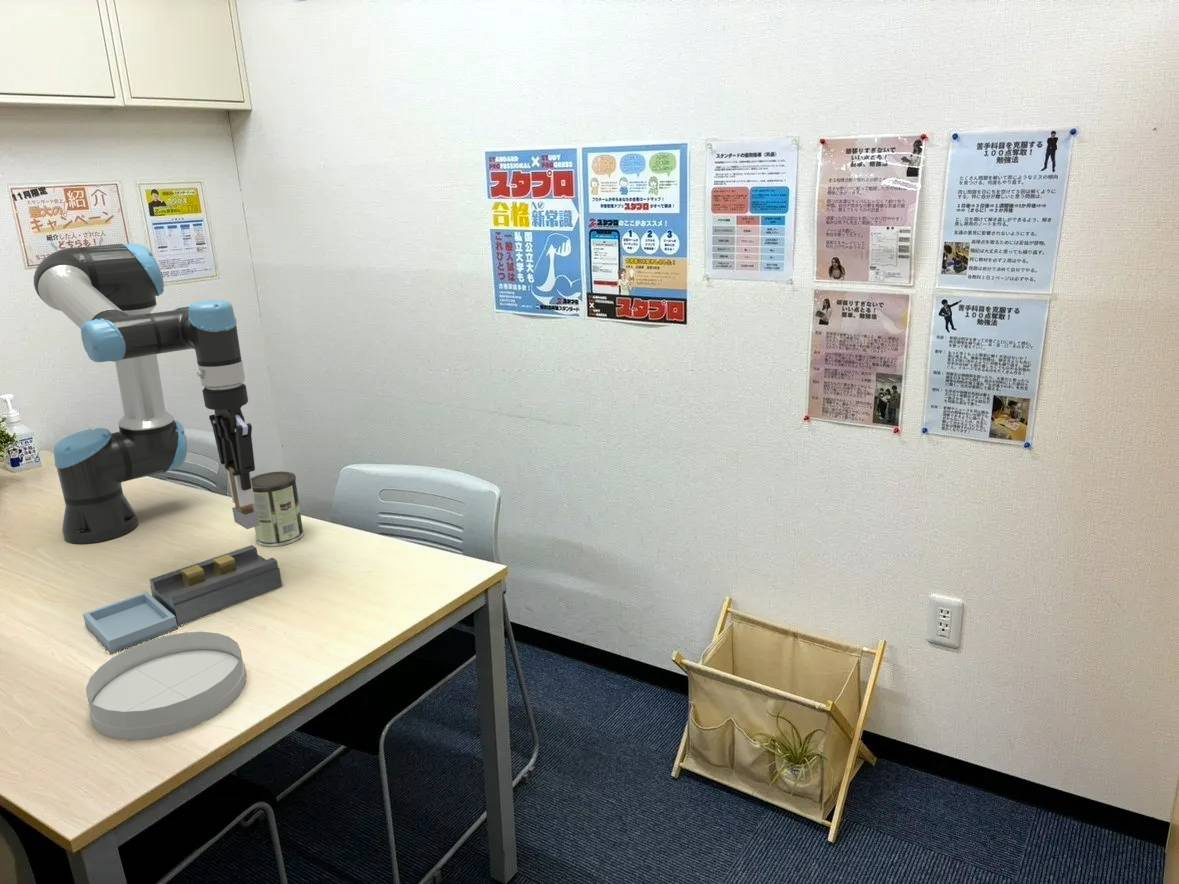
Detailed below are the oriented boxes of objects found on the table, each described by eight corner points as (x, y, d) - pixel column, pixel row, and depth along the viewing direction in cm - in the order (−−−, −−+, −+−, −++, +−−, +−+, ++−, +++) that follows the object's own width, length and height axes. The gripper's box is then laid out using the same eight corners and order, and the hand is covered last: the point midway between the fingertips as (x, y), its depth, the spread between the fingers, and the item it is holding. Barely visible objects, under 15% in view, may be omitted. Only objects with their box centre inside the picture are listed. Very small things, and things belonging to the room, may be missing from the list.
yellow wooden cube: (183, 584, 156) (180, 570, 155) (199, 578, 158) (197, 564, 157) (189, 589, 154) (187, 575, 153) (206, 583, 156) (203, 569, 155)
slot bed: (154, 604, 157) (148, 578, 155) (254, 568, 170) (251, 544, 169) (178, 625, 149) (172, 598, 147) (282, 586, 162) (278, 561, 161)
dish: (63, 709, 126) (56, 681, 125) (196, 643, 143) (192, 618, 142) (140, 761, 114) (133, 731, 113) (275, 682, 132) (271, 655, 130)
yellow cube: (215, 573, 160) (212, 559, 159) (230, 568, 162) (228, 554, 161) (221, 578, 158) (219, 564, 157) (237, 572, 160) (234, 558, 159)
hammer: (234, 522, 162) (224, 464, 158) (246, 518, 163) (237, 461, 160) (247, 529, 158) (237, 470, 154) (259, 525, 160) (250, 467, 156)
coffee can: (274, 526, 191) (265, 469, 187) (313, 530, 189) (305, 472, 184) (245, 544, 182) (235, 485, 177) (285, 549, 179) (276, 489, 175)
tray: (85, 625, 149) (82, 613, 149) (149, 603, 157) (146, 591, 156) (111, 654, 140) (108, 641, 139) (177, 628, 148) (175, 616, 147)
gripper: (186, 383, 155) (207, 498, 162) (221, 395, 144) (242, 518, 152) (226, 375, 160) (244, 488, 167) (262, 387, 150) (280, 506, 157)
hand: (243, 502), depth 159 cm, fingers closed on hammer, 2 cm apart
